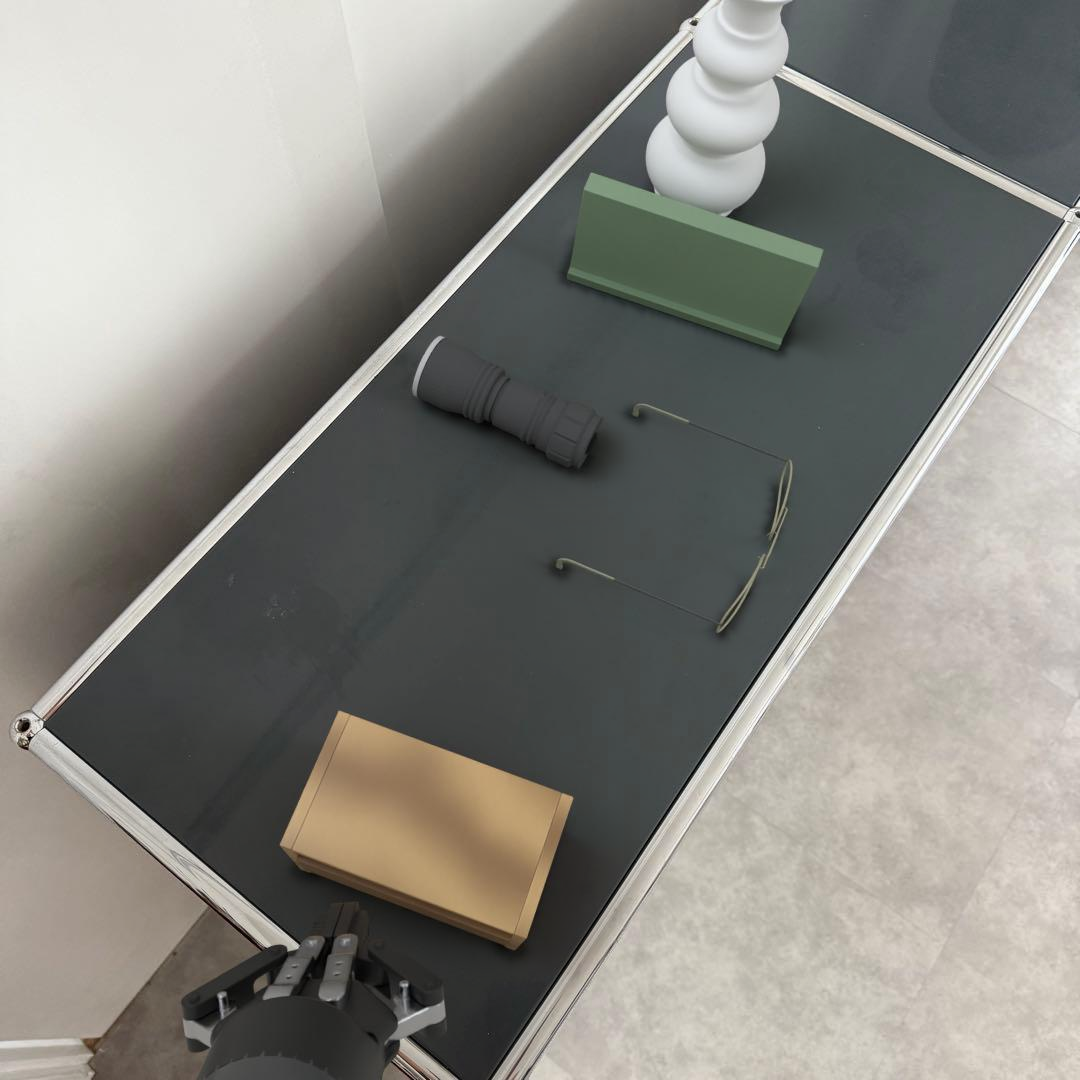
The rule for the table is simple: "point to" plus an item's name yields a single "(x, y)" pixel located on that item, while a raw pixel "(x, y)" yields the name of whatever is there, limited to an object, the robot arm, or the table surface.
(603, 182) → the wall board
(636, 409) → the eyeglasses
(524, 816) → the wooden drawer chest
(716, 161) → the vase
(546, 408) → the flashlight
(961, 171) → the table surface
